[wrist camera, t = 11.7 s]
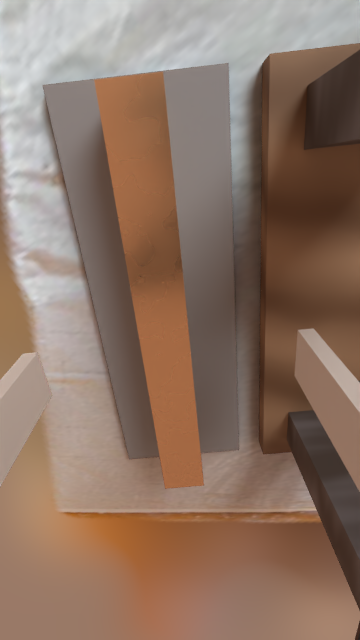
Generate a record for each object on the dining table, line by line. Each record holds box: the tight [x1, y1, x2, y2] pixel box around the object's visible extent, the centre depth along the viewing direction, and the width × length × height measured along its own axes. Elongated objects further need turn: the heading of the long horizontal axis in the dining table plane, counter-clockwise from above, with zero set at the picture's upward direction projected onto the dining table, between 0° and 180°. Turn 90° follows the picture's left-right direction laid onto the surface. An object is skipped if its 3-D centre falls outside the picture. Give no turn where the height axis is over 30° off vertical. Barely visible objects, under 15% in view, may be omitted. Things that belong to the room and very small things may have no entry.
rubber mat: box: [43, 63, 239, 459], centre depth 23 cm, size 28×10×1 cm, turn 6°
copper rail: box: [94, 72, 204, 489], centre depth 21 cm, size 26×3×4 cm, turn 6°
